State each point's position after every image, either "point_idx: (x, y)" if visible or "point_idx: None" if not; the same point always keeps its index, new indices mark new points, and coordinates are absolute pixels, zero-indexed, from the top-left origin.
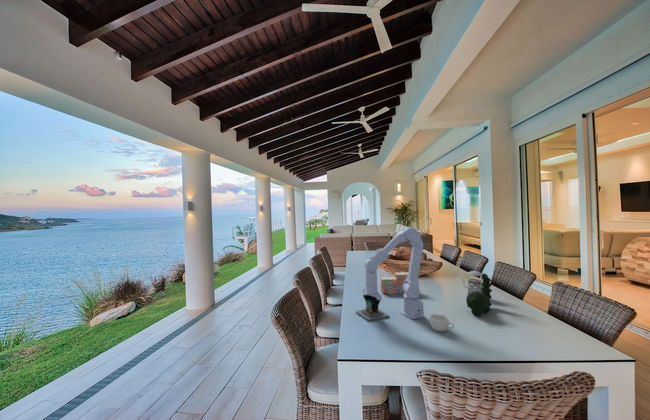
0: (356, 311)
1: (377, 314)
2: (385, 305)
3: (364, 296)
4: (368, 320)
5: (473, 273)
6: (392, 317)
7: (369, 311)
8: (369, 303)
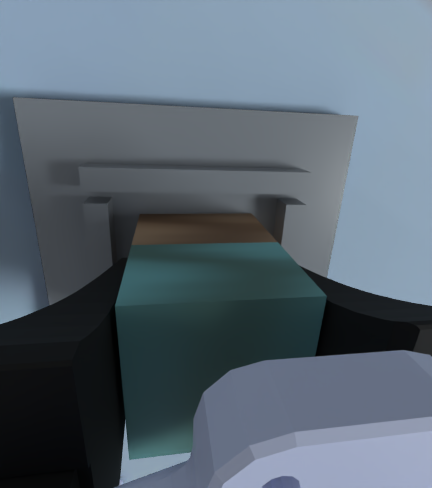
0: (350, 116)
1: None
2: None
3: (411, 320)
4: (18, 101)
5: None
6: None
7: (174, 226)
8: (170, 284)
